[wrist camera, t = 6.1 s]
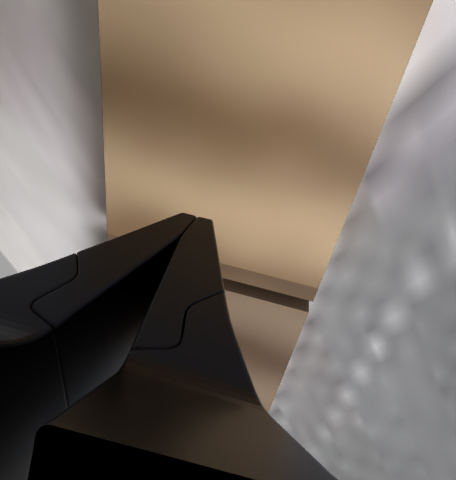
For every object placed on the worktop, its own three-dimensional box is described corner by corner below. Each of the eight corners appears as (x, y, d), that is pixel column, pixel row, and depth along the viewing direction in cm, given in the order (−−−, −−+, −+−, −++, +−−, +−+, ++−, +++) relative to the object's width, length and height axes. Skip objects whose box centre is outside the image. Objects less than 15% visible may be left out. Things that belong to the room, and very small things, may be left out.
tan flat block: (271, 381, 23) (268, 412, 21) (128, 340, 24) (113, 366, 22) (309, 282, 18) (308, 312, 16) (128, 236, 19) (108, 258, 17)
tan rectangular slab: (313, 275, 18) (312, 301, 16) (126, 227, 18) (107, 247, 17) (423, -18, 11) (443, -25, 9) (125, -69, 12) (94, -85, 10)
